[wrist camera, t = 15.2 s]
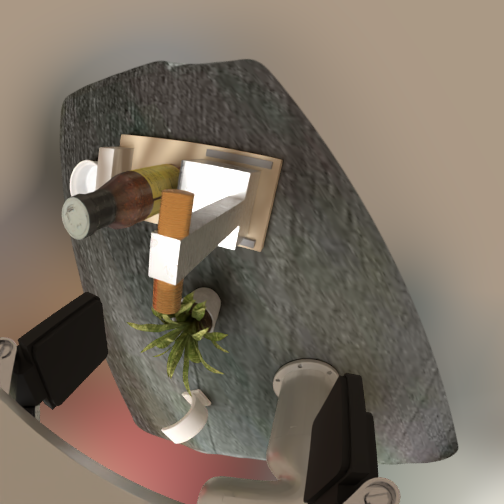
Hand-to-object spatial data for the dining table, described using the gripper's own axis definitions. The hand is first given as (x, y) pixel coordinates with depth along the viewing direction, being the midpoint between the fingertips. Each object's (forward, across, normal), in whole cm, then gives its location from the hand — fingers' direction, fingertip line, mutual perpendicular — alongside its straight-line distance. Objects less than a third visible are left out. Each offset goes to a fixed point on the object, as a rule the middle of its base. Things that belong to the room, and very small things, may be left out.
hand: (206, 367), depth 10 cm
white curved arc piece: (+33, +9, +44) cm, 55 cm away
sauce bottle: (+30, +17, 0) cm, 35 cm away
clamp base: (+32, +15, -1) cm, 35 cm away
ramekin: (+32, +33, +2) cm, 46 cm away
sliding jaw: (+30, +9, 0) cm, 31 cm away
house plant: (+32, +9, +18) cm, 38 cm away
